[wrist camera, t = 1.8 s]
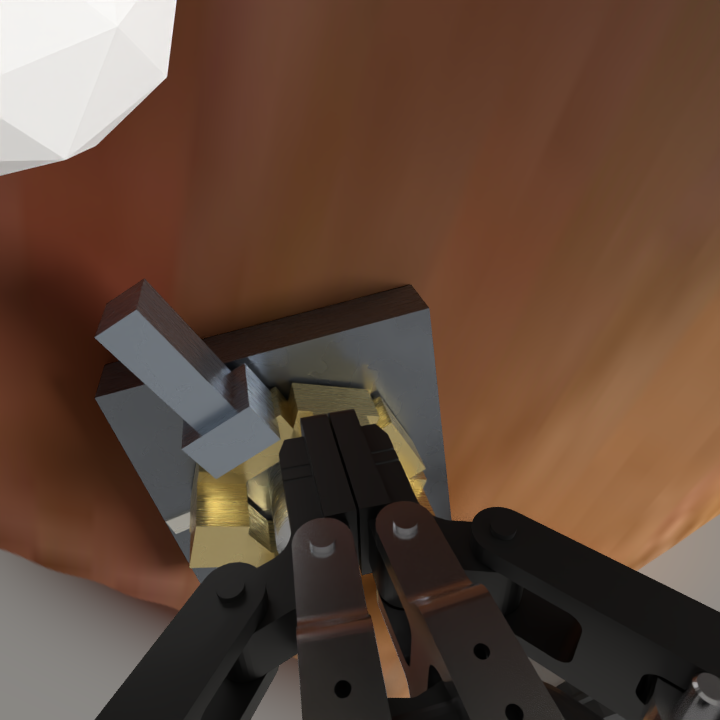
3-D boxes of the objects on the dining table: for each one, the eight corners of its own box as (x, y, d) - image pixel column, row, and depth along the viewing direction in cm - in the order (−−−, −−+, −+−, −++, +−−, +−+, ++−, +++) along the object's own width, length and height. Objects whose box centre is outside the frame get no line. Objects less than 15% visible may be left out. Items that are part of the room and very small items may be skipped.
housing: (411, 284, 30) (468, 358, 23) (436, 489, 39) (481, 583, 33) (104, 364, 28) (73, 469, 22) (208, 559, 38) (208, 673, 31)
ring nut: (439, 478, 34) (473, 544, 30) (277, 573, 35) (287, 650, 31) (245, 209, 22) (253, 254, 18) (13, 364, 24) (-31, 440, 19)
